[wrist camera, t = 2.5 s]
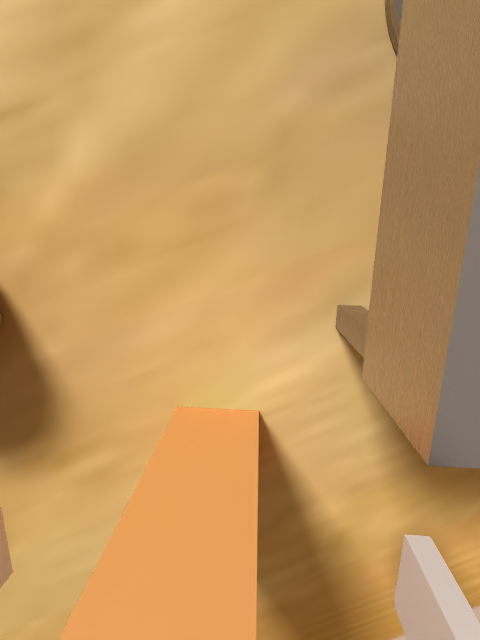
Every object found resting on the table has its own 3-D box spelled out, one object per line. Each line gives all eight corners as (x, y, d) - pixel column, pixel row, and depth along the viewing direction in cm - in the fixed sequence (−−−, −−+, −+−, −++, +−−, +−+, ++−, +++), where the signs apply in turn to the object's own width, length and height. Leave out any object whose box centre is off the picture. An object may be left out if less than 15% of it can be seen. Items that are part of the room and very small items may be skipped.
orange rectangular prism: (179, 477, 17) (-156, 1433, 3) (177, 407, 16) (-297, 1332, 2) (256, 481, 17) (236, 1529, 3) (258, 410, 16) (246, 1459, 2)
